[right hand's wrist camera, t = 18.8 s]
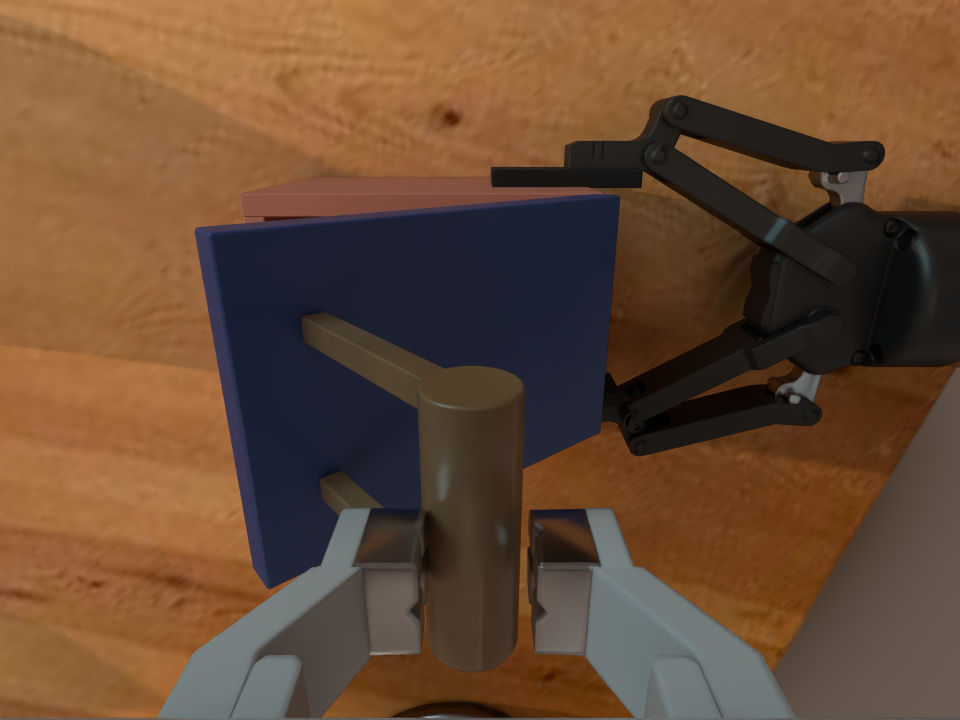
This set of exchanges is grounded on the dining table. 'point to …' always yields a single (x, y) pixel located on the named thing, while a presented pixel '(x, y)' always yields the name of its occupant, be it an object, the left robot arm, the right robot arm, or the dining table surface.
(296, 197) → the chest
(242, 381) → the lid
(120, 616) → the dining table surface
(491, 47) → the dining table surface
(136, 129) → the dining table surface
